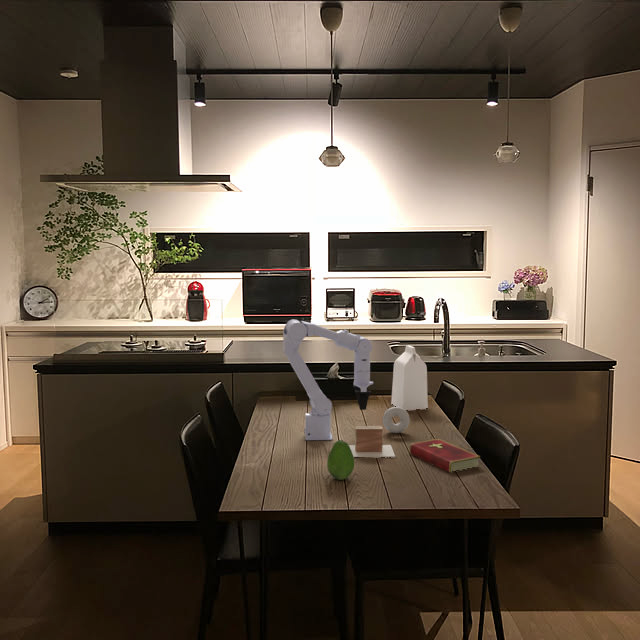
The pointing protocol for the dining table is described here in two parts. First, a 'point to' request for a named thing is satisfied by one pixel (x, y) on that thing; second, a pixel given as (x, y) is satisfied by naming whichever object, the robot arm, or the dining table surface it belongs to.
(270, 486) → the dining table surface
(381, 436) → the tan wooden block
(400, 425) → the donut
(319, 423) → the robot arm
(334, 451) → the fruit
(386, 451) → the mat
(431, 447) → the hardcover book
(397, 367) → the milk
